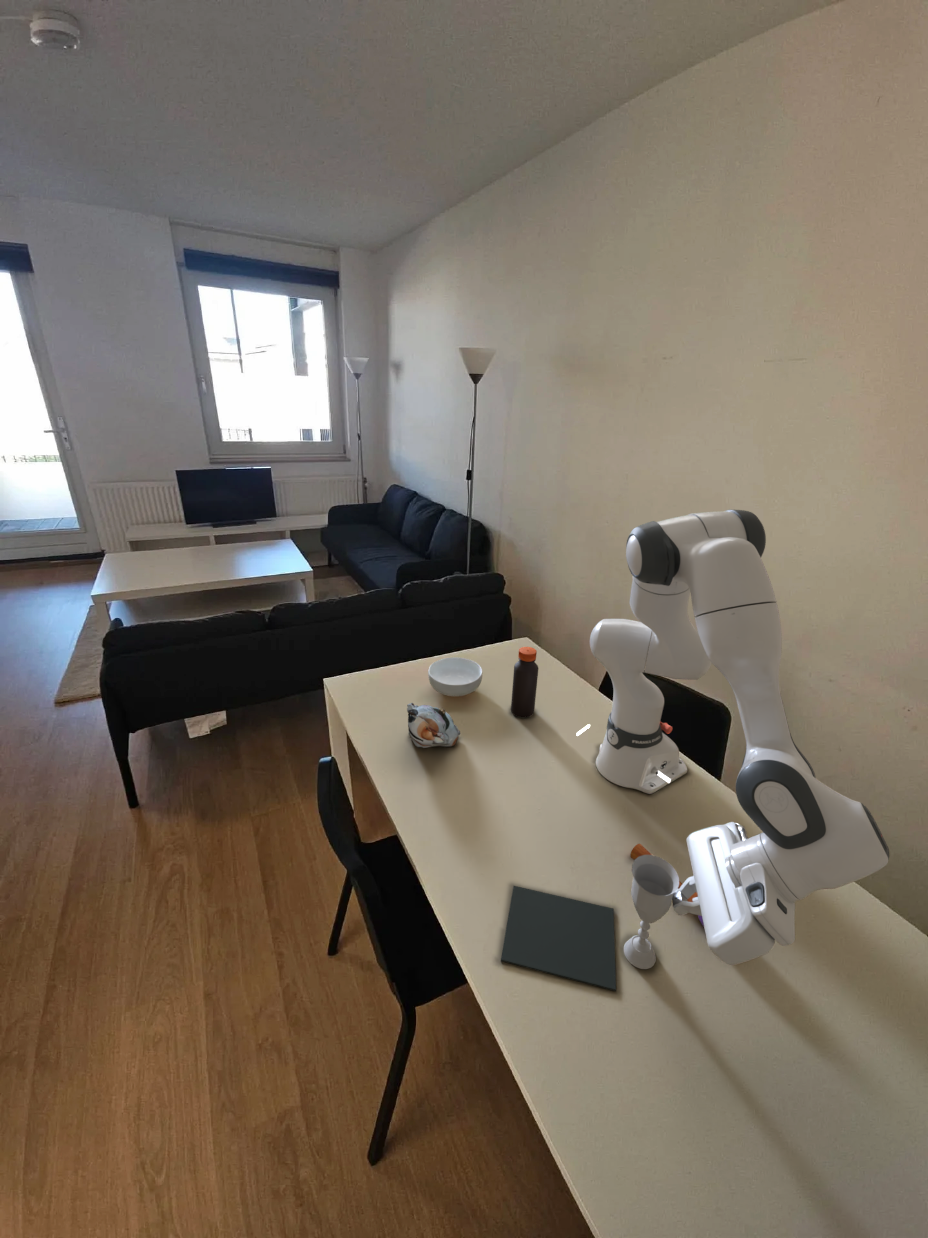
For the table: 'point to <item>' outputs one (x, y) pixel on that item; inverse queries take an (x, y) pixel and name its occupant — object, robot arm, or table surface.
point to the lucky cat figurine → (431, 726)
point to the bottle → (524, 683)
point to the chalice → (649, 904)
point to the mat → (561, 937)
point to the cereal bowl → (455, 676)
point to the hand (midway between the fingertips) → (674, 904)
